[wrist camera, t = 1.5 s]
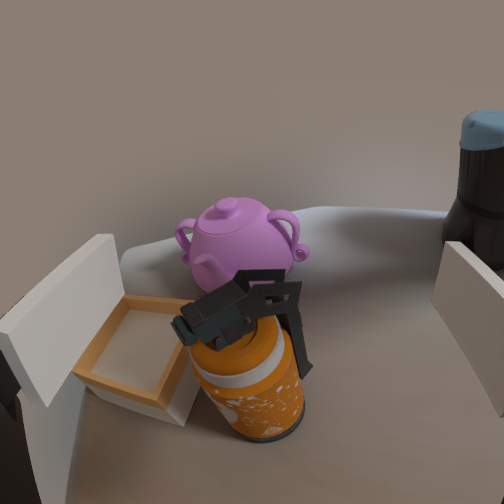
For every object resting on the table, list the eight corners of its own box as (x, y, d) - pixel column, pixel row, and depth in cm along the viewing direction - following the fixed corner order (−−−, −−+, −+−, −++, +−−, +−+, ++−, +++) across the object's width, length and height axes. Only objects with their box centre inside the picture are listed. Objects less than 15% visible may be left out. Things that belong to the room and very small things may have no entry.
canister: (217, 404, 37) (143, 293, 25) (290, 357, 40) (257, 229, 28) (255, 458, 30) (184, 371, 18) (335, 403, 34) (328, 279, 22)
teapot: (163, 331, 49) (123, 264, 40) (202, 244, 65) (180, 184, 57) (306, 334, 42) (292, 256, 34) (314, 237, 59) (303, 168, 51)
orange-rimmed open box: (141, 325, 51) (120, 293, 46) (221, 336, 45) (204, 301, 41) (100, 398, 40) (70, 370, 36) (183, 427, 35) (156, 400, 30)
